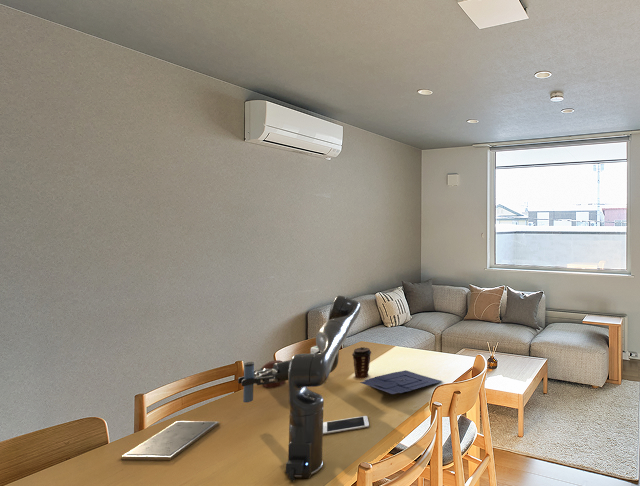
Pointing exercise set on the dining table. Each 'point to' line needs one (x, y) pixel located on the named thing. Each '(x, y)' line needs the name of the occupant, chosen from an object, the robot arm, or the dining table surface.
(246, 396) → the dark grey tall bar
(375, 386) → the navy compartment tray
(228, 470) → the dining table surface
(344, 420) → the cell phone
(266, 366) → the muffin
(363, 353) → the coffee cup
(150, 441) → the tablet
